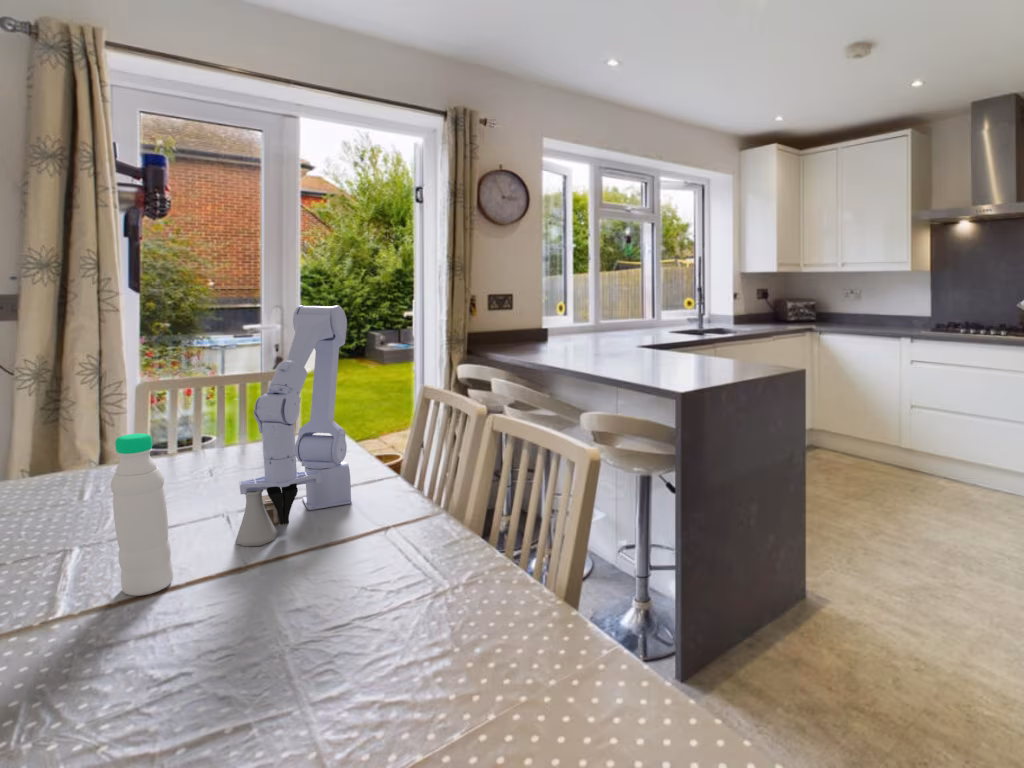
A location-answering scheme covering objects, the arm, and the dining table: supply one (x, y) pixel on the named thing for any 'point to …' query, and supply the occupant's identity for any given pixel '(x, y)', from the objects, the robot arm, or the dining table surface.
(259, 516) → the flask
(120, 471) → the water bottle
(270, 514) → the lettered block
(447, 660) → the dining table surface
